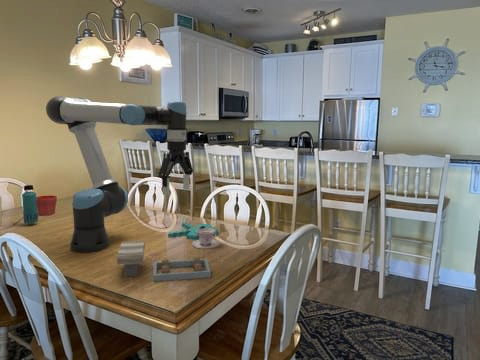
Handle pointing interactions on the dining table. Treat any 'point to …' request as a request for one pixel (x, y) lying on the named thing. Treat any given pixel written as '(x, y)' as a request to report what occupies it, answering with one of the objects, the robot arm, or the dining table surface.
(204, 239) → the teacup
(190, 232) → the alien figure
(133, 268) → the block
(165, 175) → the robot arm
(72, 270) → the dining table surface
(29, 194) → the beverage bottle
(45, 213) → the flower pot
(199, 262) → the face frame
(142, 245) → the grey flat block
